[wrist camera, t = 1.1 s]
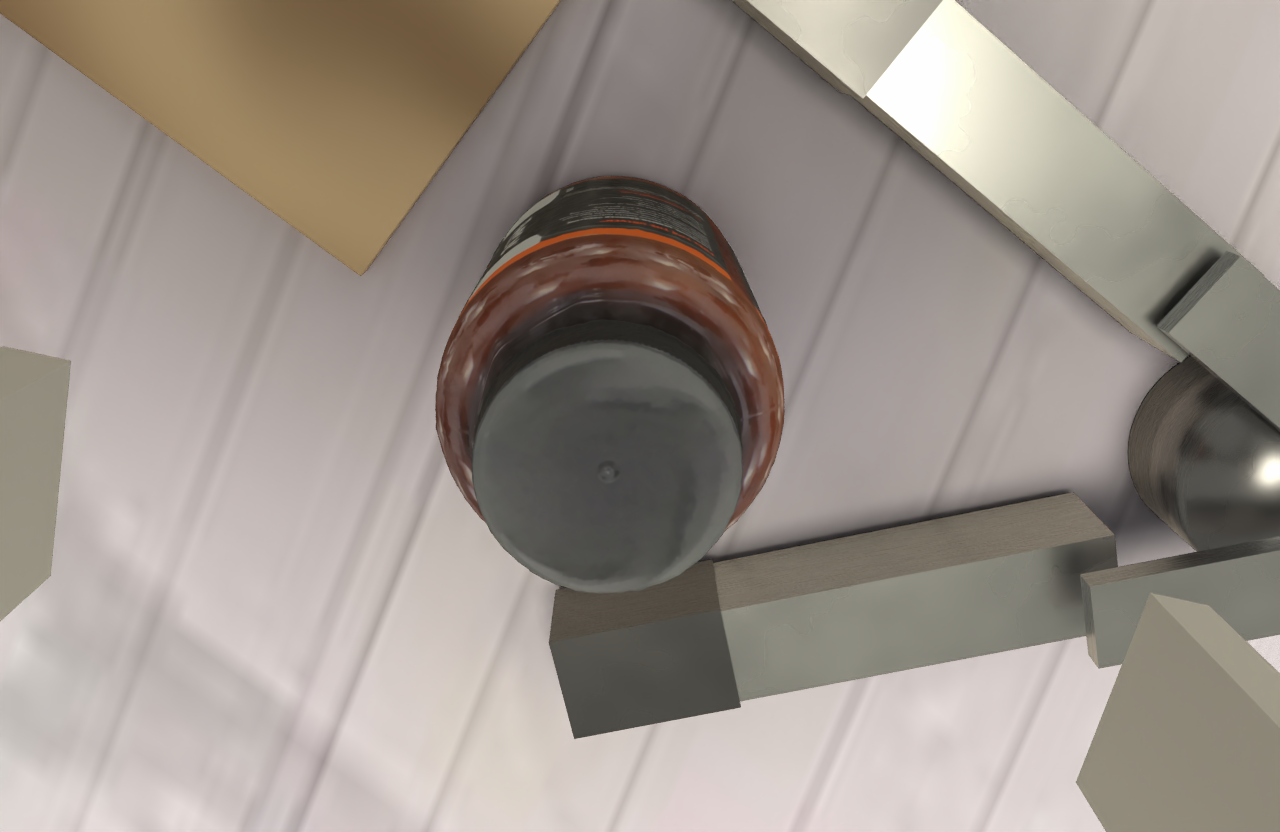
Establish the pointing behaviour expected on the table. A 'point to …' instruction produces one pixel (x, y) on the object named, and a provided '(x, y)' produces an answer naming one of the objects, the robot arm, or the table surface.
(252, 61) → the cork mat
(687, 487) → the supplement bottle
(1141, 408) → the tongs base
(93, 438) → the table surface
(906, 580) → the tong jaw
